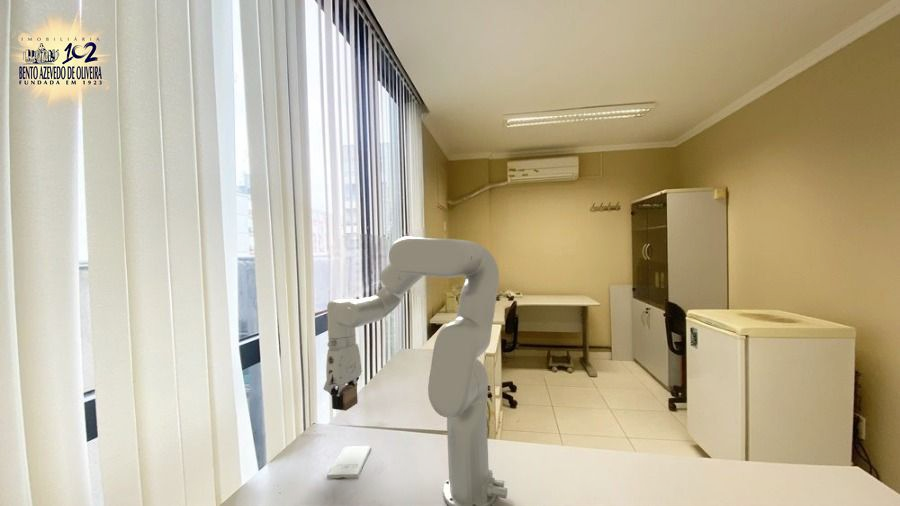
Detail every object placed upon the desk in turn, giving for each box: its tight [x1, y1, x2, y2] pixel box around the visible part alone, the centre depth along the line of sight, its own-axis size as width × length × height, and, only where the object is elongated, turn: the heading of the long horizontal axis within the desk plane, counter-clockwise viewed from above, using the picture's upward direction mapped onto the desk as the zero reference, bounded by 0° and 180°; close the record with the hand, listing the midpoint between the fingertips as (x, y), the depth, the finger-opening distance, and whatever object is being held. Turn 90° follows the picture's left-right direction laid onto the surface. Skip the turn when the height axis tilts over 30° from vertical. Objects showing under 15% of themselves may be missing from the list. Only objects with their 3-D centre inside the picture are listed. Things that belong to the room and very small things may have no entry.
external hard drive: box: [326, 445, 372, 479], centre depth 88 cm, size 2×8×12 cm
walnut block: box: [331, 384, 359, 412], centre depth 92 cm, size 5×5×5 cm
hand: (345, 404), depth 92 cm, fingers closed on walnut block, 5 cm apart
